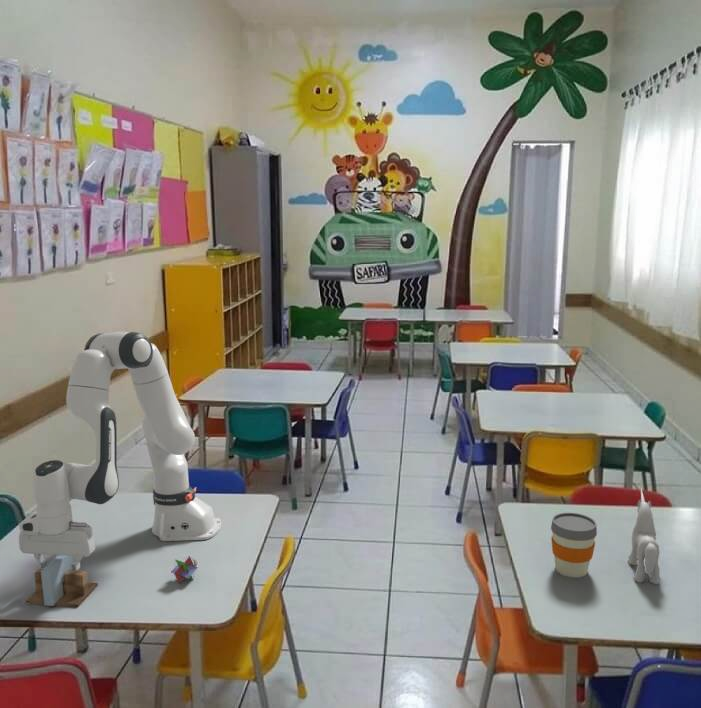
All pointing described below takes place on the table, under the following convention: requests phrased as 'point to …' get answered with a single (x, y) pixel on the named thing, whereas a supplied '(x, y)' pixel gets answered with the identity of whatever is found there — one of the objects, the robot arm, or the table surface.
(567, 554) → the reusable coffee cup
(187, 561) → the geometric puzzle
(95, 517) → the table surface
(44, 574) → the slotted plate
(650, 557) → the unicorn
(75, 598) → the jig
